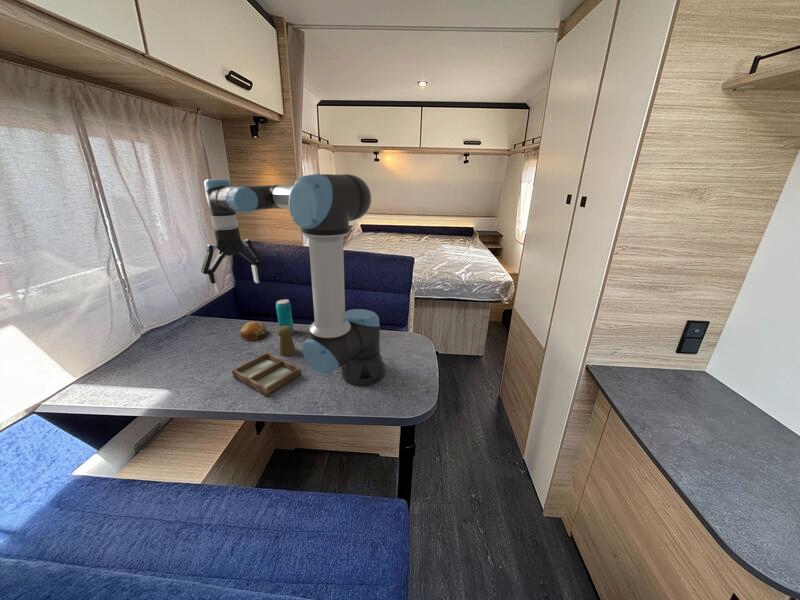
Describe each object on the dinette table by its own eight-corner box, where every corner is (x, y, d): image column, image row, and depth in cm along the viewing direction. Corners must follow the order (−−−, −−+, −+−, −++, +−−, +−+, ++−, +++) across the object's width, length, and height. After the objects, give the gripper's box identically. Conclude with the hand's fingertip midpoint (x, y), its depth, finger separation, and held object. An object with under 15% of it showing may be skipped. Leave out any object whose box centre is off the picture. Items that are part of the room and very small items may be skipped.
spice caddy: (301, 375, 108) (300, 368, 107) (266, 397, 97) (265, 389, 96) (268, 359, 117) (266, 352, 116) (233, 377, 107) (231, 370, 106)
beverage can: (296, 330, 138) (292, 299, 133) (290, 336, 133) (286, 304, 128) (283, 329, 139) (279, 298, 133) (277, 336, 134) (272, 303, 128)
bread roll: (265, 336, 141) (260, 319, 141) (270, 335, 133) (265, 317, 132) (241, 343, 135) (236, 325, 135) (246, 343, 127) (240, 324, 126)
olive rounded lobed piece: (289, 357, 118) (285, 332, 114) (276, 354, 120) (272, 329, 116) (299, 349, 124) (295, 325, 119) (286, 347, 125) (282, 322, 121)
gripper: (257, 222, 117) (266, 277, 125) (180, 230, 100) (196, 293, 108) (267, 225, 112) (275, 281, 120) (187, 233, 95) (203, 298, 103)
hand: (238, 286), depth 114 cm, fingers open, 13 cm apart
